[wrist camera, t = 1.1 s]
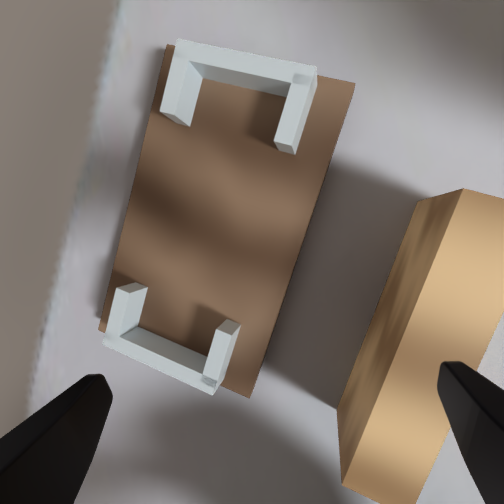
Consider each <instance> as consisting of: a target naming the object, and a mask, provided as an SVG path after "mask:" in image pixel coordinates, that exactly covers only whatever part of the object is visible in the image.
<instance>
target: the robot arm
mask: <svg viewBox="0 0 504 504" xmlns="http://www.w3.org/2000/svg"><path fill="white" fill-rule="evenodd" d="M437 391H438V395H439V397H440V400H441V403H442V405H443V408H444V410H445V413H446V415H447V418H448V421H449V423H450V426H451V428H452V431H453V433H454V436H455V439H456V441H457V444H458V446H459V449H460V451H461V454H462V456H463V459H464V461H465V463H466V465H467V468H468V470H469V472H470V474H471V476H472V478H473V480H474V482H475V484H476V486H477V488H478V490H479V492H480V494H481V496H482V498H483V500H484V502H485V504H504V390H503V389H501V388H500V387H499V386H497V385H496V384H494V383H493V382H491V381H490V380H488V379H487V378H485V377H484V376H483V375H481V374H480V373H478V372H477V371H475V370H474V369H472V368H471V367H469V366H468V365H466V364H465V363H463V362H461V361H443V362H442V363H441V365H440V369H439V375H438V380H437ZM112 399H113V395H112V391H111V389H110V387H109V385H108V383H107V381H106V379H105V377H104V376H103V375H102V374H88V375H86V376H84V377H83V378H82V379H80V380H79V381H78V382H76V383H75V384H73V385H72V386H71V387H69V388H68V389H67V390H65V391H64V392H63V393H61V394H60V395H59V396H57V397H56V398H55V399H53V400H52V401H50V402H49V403H48V404H46V405H45V406H44V407H42V408H41V409H40V410H38V411H37V412H36V413H34V414H33V415H32V416H30V417H29V418H27V419H26V420H25V421H23V422H22V423H21V424H19V425H18V426H17V427H16V428H14V429H13V430H11V431H10V432H9V433H7V434H6V435H4V436H3V437H2V438H0V504H74V501H75V499H76V497H77V494H78V492H79V490H80V488H81V485H82V483H83V481H84V478H85V476H86V474H87V471H88V469H89V467H90V464H91V462H92V459H93V457H94V454H95V451H96V448H97V445H98V442H99V439H100V436H101V434H102V431H103V428H104V425H105V422H106V419H107V416H108V413H109V410H110V407H111V404H112Z"/></svg>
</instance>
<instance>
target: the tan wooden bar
mask: <svg viewBox="0 0 504 504" xmlns="http://www.w3.org/2000/svg"><path fill="white" fill-rule="evenodd" d="M503 312H504V199H502V198H499V197H495V196H491V195H487V194H483V193H479V192H476V191H472V190H468V189H464V188H463V189H459V190H456V191H452V192H449V193H445V194H442V195H438V196H435V197H431V198H428V199H424V200H421V201H418V202H417V205H416V207H415V210H414V212H413V215H412V217H411V220H410V223H409V225H408V228H407V230H406V233H405V235H404V238H403V241H402V243H401V246H400V248H399V251H398V253H397V256H396V259H395V261H394V264H393V266H392V269H391V271H390V274H389V277H388V279H387V282H386V284H385V287H384V289H383V292H382V295H381V297H380V300H379V302H378V305H377V307H376V310H375V313H374V315H373V318H372V320H371V323H370V325H369V328H368V331H367V333H366V336H365V338H364V341H363V343H362V346H361V349H360V351H359V354H358V356H357V359H356V361H355V364H354V367H353V369H352V372H351V374H350V377H349V379H348V382H347V385H346V387H345V390H344V392H343V395H342V397H341V400H340V403H339V405H338V408H337V422H338V437H339V451H340V465H341V480H342V485H343V486H345V487H347V488H349V489H351V490H353V491H355V492H357V493H359V494H361V495H363V496H365V497H368V498H370V499H372V500H374V501H376V502H378V503H380V504H416V501H417V499H418V497H419V495H420V493H421V491H422V488H423V486H424V484H425V482H426V480H427V477H428V475H429V473H430V471H431V469H432V467H433V464H434V462H435V460H436V458H437V456H438V453H439V451H440V449H441V447H442V445H443V443H444V440H445V438H446V436H447V434H448V432H449V430H450V427H451V426H450V423H449V421H448V418H447V415H446V413H445V410H444V408H443V405H442V403H441V400H440V397H439V395H438V391H437V380H438V375H439V369H440V365H441V363H442V362H443V361H461V362H463V363H465V364H466V365H468V366H469V367H471V368H472V369H474V370H475V371H477V369H478V366H479V364H480V362H481V360H482V358H483V355H484V353H485V351H486V349H487V347H488V345H489V342H490V340H491V338H492V336H493V334H494V331H495V329H496V327H497V325H498V323H499V321H500V318H501V316H502V314H503Z"/></svg>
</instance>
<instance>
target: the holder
mask: <svg viewBox="0 0 504 504" xmlns="http://www.w3.org/2000/svg"><path fill="white" fill-rule="evenodd" d="M354 88H355V83H352V82H347V81H342V80H337V79H333V78H328V77H323V76H318V75H317V66H312V65H307V64H302V63H297V62H292V61H287V60H282V59H277V58H272V57H267V56H262V55H257V54H252V53H247V52H242V51H237V50H232V49H227V48H222V47H217V46H212V45H207V44H202V43H198V42H193V41H188V40H183V39H178V38H177V42H176V46H174V45H169V44H167V46H166V50H165V54H164V58H163V62H162V66H161V71H160V75H159V79H158V83H157V87H156V91H155V96H154V100H153V104H152V108H151V112H150V116H149V120H148V125H147V129H146V133H145V137H144V141H143V145H142V150H141V154H140V158H139V162H138V166H137V170H136V174H135V179H134V183H133V187H132V191H131V195H130V199H129V204H128V208H127V212H126V216H125V220H124V224H123V228H122V233H121V237H120V241H119V245H118V249H117V253H116V258H115V262H114V266H113V270H112V274H111V278H110V282H109V287H108V291H107V295H106V299H105V303H104V307H103V312H102V316H101V320H100V324H99V328H98V330H99V331H101V332H104V333H105V336H104V340H103V344H102V345H104V346H106V347H109V348H111V349H113V350H115V351H117V352H119V353H121V354H124V355H126V356H128V357H130V358H132V359H134V360H137V361H139V362H141V363H143V364H145V365H147V366H150V367H152V368H154V369H156V370H158V371H160V372H162V373H165V374H167V375H169V376H171V377H173V378H175V379H178V380H180V381H182V382H184V383H186V384H188V385H190V386H193V387H195V388H197V389H199V390H201V391H203V392H206V393H208V394H210V395H212V396H213V395H214V393H215V392H216V390H217V389H218V387H219V386H220V385H221V386H223V387H225V388H227V389H230V390H232V391H234V392H236V393H238V394H241V395H243V396H245V397H247V398H250V396H251V394H252V391H253V389H254V386H255V383H256V380H257V377H258V374H259V371H260V368H261V365H262V363H263V360H264V357H265V354H266V351H267V348H268V345H269V342H270V339H271V336H272V333H273V330H274V327H275V324H276V321H277V318H278V315H279V312H280V309H281V306H282V303H283V300H284V297H285V294H286V291H287V288H288V285H289V282H290V279H291V277H292V274H293V271H294V268H295V265H296V262H297V259H298V256H299V253H300V250H301V247H302V244H303V241H304V238H305V235H306V232H307V229H308V226H309V223H310V220H311V217H312V214H313V211H314V208H315V205H316V202H317V199H318V196H319V193H320V191H321V188H322V185H323V182H324V179H325V176H326V173H327V170H328V167H329V164H330V161H331V158H332V155H333V152H334V149H335V146H336V143H337V140H338V137H339V134H340V131H341V128H342V125H343V122H344V119H345V116H346V113H347V110H348V107H349V105H350V102H351V99H352V96H353V93H354Z"/></svg>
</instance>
